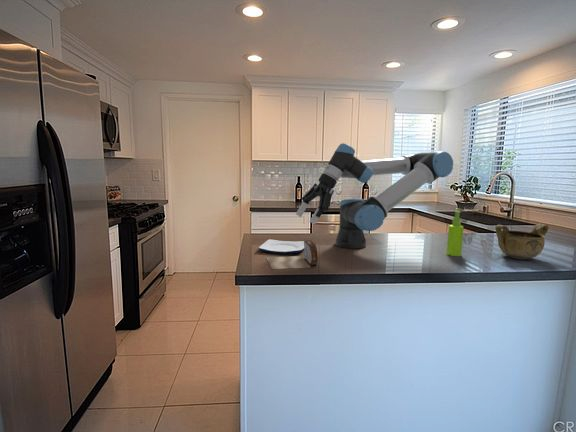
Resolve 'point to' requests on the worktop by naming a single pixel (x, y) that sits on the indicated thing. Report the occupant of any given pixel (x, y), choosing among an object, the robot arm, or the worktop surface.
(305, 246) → the bread slice
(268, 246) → the plate
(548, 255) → the worktop surface
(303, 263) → the cork mat
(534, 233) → the ceramic bowl
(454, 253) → the green bottle
